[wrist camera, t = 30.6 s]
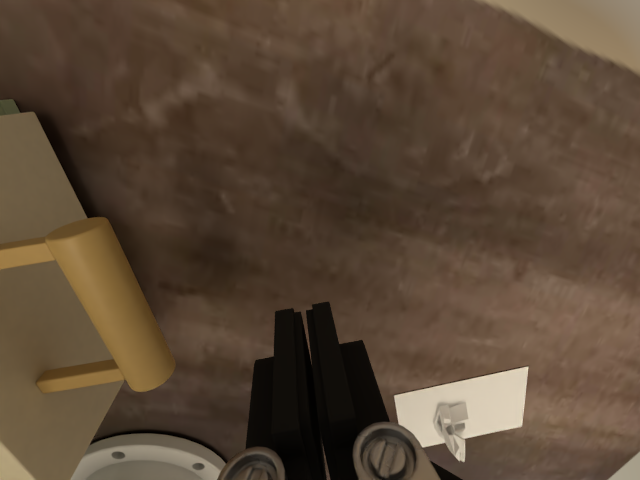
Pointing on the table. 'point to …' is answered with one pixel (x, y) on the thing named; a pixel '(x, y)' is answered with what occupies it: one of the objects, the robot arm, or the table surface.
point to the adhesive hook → (464, 409)
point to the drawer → (62, 314)
